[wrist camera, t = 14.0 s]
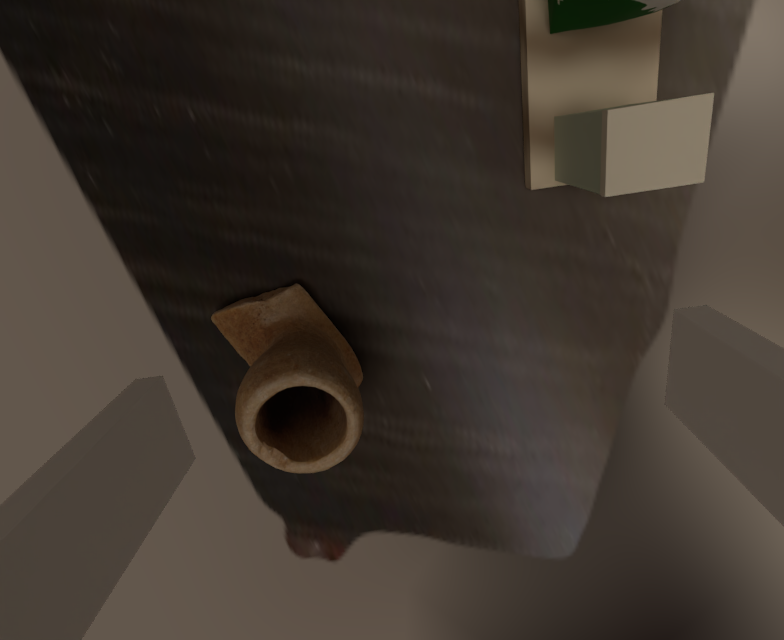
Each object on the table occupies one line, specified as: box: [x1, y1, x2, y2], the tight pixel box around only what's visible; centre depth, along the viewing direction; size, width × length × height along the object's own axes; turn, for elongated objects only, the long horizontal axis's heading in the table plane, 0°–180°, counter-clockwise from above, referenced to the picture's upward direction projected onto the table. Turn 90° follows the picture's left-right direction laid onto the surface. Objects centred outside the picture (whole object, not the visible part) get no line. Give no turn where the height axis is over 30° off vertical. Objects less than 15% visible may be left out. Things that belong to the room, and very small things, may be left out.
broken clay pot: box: [211, 284, 364, 473], centre depth 39 cm, size 15×12×15 cm
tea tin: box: [554, 93, 714, 197], centre depth 32 cm, size 5×6×10 cm
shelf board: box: [519, 0, 662, 190], centre depth 34 cm, size 22×10×4 cm, turn 9°
